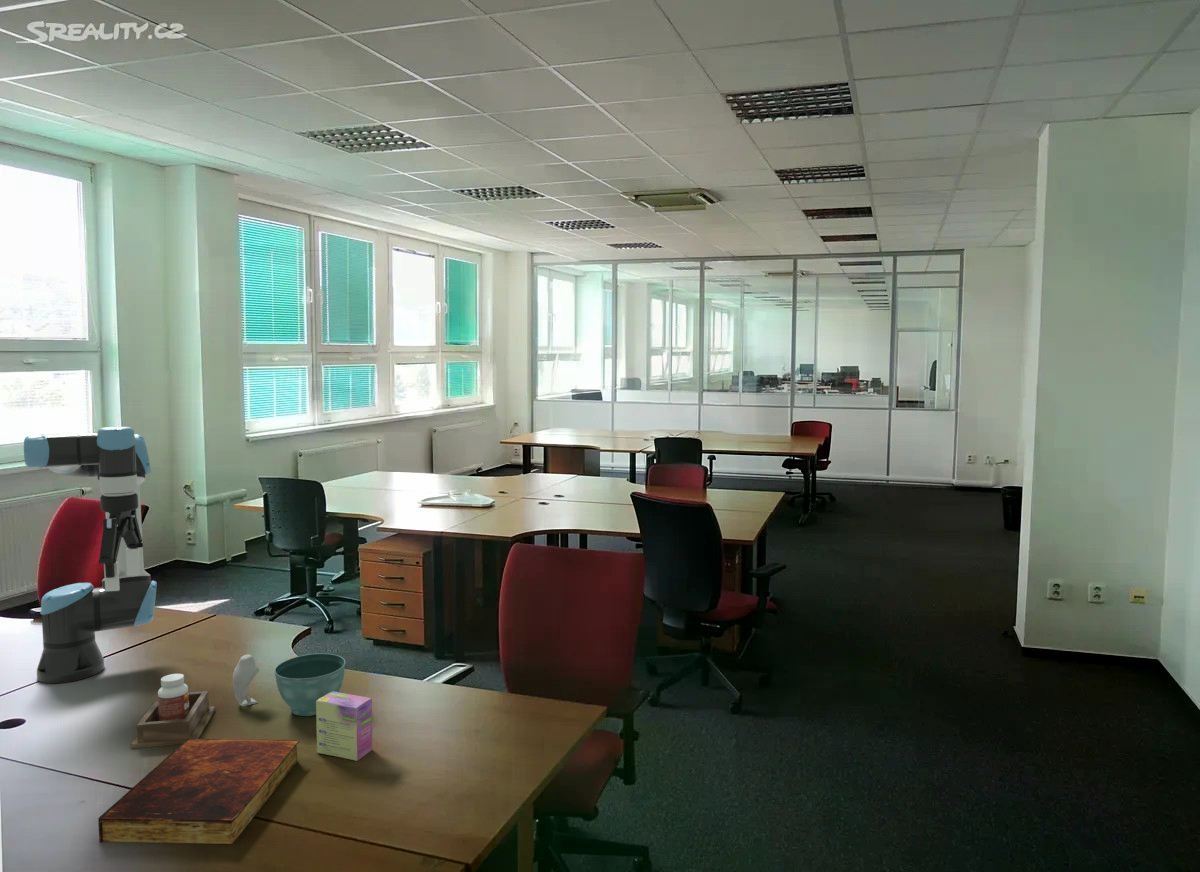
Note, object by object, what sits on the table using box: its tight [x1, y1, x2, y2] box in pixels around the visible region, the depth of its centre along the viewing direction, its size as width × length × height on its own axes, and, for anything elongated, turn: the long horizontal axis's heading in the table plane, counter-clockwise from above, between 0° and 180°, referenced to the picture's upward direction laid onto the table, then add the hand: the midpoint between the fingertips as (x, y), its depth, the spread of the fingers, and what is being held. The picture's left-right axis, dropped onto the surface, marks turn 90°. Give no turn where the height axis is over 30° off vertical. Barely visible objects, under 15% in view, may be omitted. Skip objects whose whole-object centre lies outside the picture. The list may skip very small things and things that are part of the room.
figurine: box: [232, 654, 260, 708], centre depth 197 cm, size 8×5×12 cm
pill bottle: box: [157, 673, 189, 721], centre depth 183 cm, size 6×6×11 cm
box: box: [315, 691, 373, 762], centre depth 173 cm, size 10×6×12 cm, turn 71°
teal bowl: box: [273, 652, 346, 717], centre depth 194 cm, size 16×16×11 cm
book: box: [97, 738, 300, 845], centre depth 155 cm, size 30×24×5 cm
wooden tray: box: [130, 690, 216, 749], centre depth 184 cm, size 17×13×5 cm
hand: (123, 582), depth 189 cm, fingers open, 13 cm apart
